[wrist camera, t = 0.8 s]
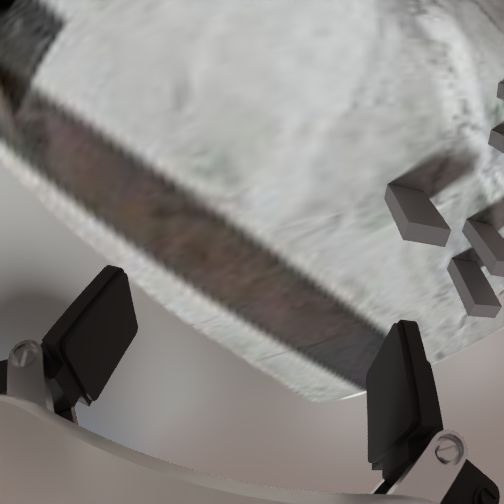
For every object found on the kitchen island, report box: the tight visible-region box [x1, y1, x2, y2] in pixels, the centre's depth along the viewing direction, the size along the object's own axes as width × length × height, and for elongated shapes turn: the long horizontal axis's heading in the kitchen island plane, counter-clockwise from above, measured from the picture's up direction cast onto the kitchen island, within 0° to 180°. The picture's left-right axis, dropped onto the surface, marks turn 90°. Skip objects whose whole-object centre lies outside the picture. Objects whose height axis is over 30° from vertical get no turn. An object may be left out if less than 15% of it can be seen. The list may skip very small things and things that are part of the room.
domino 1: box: [384, 184, 451, 247], centre depth 31 cm, size 2×5×10 cm, turn 88°
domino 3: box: [447, 258, 502, 318], centre depth 34 cm, size 2×5×10 cm, turn 88°
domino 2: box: [462, 219, 504, 277], centre depth 31 cm, size 2×5×10 cm, turn 88°
